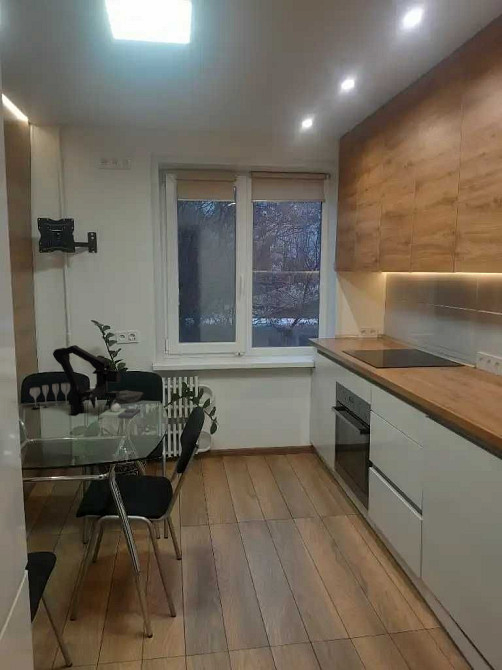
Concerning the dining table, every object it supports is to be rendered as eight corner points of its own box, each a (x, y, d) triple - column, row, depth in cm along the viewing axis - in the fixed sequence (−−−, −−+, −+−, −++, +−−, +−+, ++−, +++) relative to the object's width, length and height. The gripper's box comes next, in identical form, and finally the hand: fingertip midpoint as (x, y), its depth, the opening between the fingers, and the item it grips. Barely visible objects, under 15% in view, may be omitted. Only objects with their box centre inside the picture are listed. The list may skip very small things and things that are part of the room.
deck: (100, 417, 271) (100, 414, 271) (110, 410, 285) (110, 408, 285) (132, 418, 269) (131, 415, 269) (140, 411, 283) (140, 409, 283)
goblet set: (79, 402, 306) (78, 381, 304) (80, 404, 300) (80, 382, 299) (30, 407, 293) (29, 385, 292) (30, 409, 288) (29, 387, 287)
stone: (117, 402, 290) (114, 387, 295) (113, 408, 296) (111, 393, 301) (147, 400, 300) (144, 385, 305) (142, 406, 306) (139, 392, 311)
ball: (110, 413, 275) (108, 404, 275) (114, 411, 280) (112, 402, 280) (118, 412, 274) (117, 403, 274) (122, 409, 279) (120, 401, 279)
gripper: (79, 383, 269) (79, 411, 271) (112, 385, 267) (112, 413, 269) (88, 379, 280) (88, 406, 282) (119, 381, 278) (119, 408, 280)
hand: (101, 408), depth 278 cm, fingers open, 8 cm apart
